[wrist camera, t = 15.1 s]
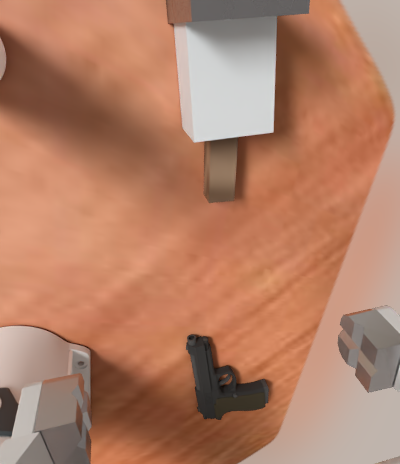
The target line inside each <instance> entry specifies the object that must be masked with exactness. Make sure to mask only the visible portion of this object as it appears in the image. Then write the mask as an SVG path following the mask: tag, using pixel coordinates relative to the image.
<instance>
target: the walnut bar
mask: <svg viewBox="0 0 400 464" xmlns="http://www.w3.org/2000/svg"><path fill="white" fill-rule="evenodd" d="M237 147H238V137H234V138H226V139H218V140H210V141H205V147H204V195H205V197H206V199H207V200H208V202H209V203H213V202H225V201H234V196H235V180H236V163H237Z"/></svg>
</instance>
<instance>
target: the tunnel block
mask: <svg viewBox="0 0 400 464" xmlns="http://www.w3.org/2000/svg"><path fill="white" fill-rule="evenodd" d="M174 33H175V45H176V57H177V69H178V80H179V92H180V104H181V116H182V128H183V129H184V131H185V132H186V133H187V134H188V136H189V137H190V138H191V139H192V140H193V142H202V141H210V140H218V139H226V138H234V137H242V136H250V135H258V134H266V133H273V131H274V99H275V67H276V35H277V16H268V17H254V18H240V19H226V20H212V21H198V22H184V23H174Z"/></svg>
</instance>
